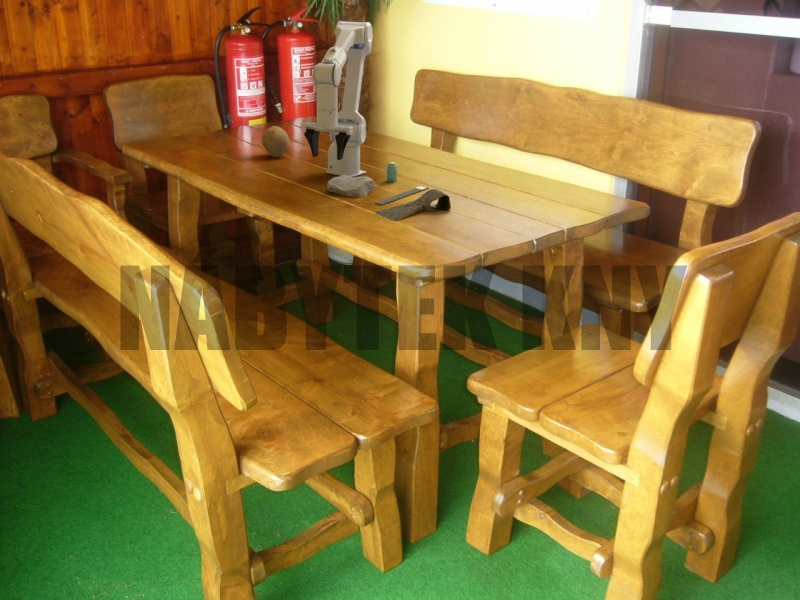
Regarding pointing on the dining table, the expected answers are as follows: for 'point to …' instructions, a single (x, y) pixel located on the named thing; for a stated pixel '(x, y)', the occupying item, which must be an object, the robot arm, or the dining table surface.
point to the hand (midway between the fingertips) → (327, 158)
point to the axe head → (418, 205)
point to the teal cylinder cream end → (391, 172)
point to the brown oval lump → (276, 141)
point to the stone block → (351, 185)
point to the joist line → (401, 195)
